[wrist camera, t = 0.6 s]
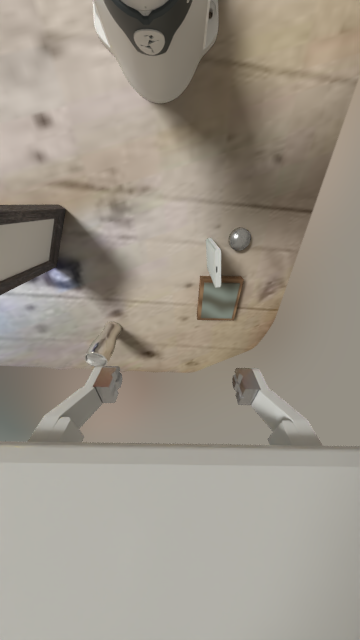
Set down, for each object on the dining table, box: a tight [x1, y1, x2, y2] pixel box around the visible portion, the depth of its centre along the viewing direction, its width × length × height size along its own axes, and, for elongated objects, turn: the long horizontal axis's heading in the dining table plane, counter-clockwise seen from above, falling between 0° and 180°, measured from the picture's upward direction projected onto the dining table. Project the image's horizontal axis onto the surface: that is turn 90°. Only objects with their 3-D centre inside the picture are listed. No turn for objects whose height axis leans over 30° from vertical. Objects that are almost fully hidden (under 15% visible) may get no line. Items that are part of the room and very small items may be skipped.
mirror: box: [197, 276, 244, 320], centre depth 51 cm, size 14×12×3 cm
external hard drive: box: [206, 238, 221, 288], centre depth 39 cm, size 2×8×12 cm, turn 8°
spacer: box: [229, 228, 251, 251], centre depth 41 cm, size 5×5×2 cm
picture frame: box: [0, 205, 66, 295], centre depth 34 cm, size 16×2×21 cm, turn 149°
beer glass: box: [84, 322, 122, 367], centre depth 53 cm, size 7×7×15 cm
